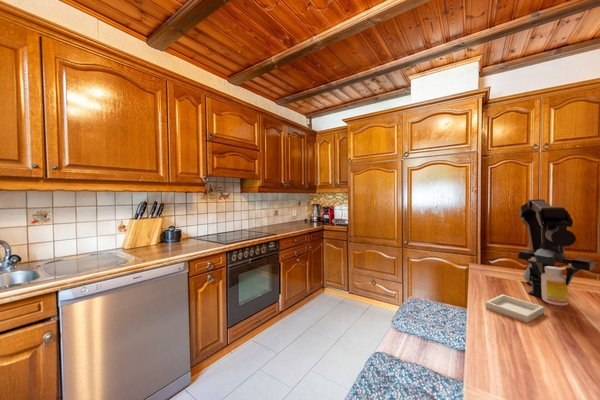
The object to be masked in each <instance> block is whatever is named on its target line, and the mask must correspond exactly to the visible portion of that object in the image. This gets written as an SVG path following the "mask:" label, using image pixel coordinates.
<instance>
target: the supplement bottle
mask: <svg viewBox="0 0 600 400" xmlns="http://www.w3.org/2000/svg"><path fill="white" fill-rule="evenodd" d="M544 270H545V273H543V274H541V289H542V297H541V298H542V300H543V302H546V303H548V304H550V305H554V306H563V307H564V306H567V305H568V304H569V293H568V292H569V291H568V285H566V276H565V275H563V273H564V269H563V268H562V267H558V266H554V267H552V266H545V267H544Z"/></svg>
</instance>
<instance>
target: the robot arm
mask: <svg viewBox="0 0 600 400" xmlns="http://www.w3.org/2000/svg"><path fill="white" fill-rule="evenodd" d="M518 217H519V218H520V219H521V222H522V223H523V225H524V226H526V227H527V232H528V238H529V243H530V244H529V245H530V250H527V249H523V250H520V251H519V252H518V253H517V259H519V260H525V262H526V263H528V266H529V267H528V266H527V268H526V269H527V271H526V270H525V271H526V278H527V279H528V280H529V281H532V284H531V290H530V291H529V292H528V295H532V296H535V297H539V298H542V289H541V274H543V273H545V270H544V267H545V266H552V267H555V264H556V263H559V264H564V265H565V264H566V265H568V266H567V267H565V269H566V276H565V277H566V285H567V286H569V285H570V284H571V282H572V280H573V279H574V277H575V275H576V274H577V272H580V271H592V270H593V269H596V262H595V261H594V260H593V259H589V258H582V257H576V258H573V259H571V258H566V254H565V247H570V246H572V245H573V244H574V243H576V240H577V237H576V235H575V234H574V232H572V231H570V230H568V228H573V224H574V221H573V218H572V217H571V214H570V213H569V212H568V210H567V209H566V208H565V207H564V206H557V205H556V206H553V205H551V204H549V203H547V202H546V201H545V199H541V198H540V199H539V198H538V199H528V200H527V202H526V203H524V204H522V205H521V206H520V208H519V210H518ZM531 276H532V277H531Z"/></svg>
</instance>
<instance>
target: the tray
mask: <svg viewBox="0 0 600 400" xmlns="http://www.w3.org/2000/svg"><path fill="white" fill-rule="evenodd" d="M485 309H488V310H490V311H492V312H495V311H496V313H498V314H501V315H504V316H506V317H509V318H511V319H512V318H513V319H515V320H517V321H519V322H520V321H521V322H524V323H526V324H529V323H530V322H532V321H534V320H536V319H537V318H539V317H541V316H543V315H544V314H545V307H544V306H542V305H539V304H536V303H532V302H529V301H526V300H523V299H519V298H516V297H512V296H511V295H510V296H509V295H505V294H500V295H498V296H496V297H493V298H491V299H489V300H487V301H485Z"/></svg>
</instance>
